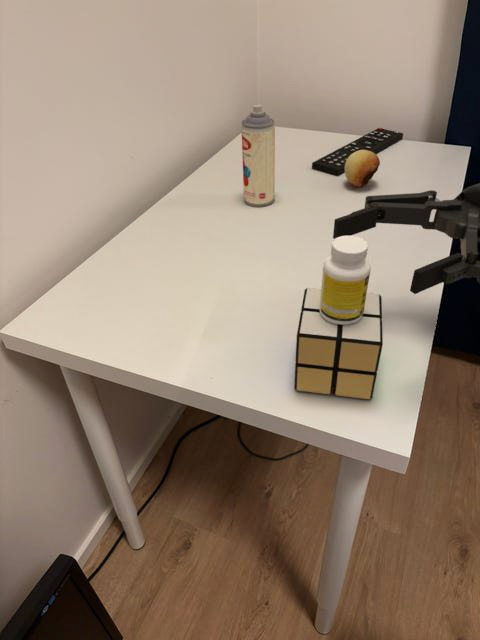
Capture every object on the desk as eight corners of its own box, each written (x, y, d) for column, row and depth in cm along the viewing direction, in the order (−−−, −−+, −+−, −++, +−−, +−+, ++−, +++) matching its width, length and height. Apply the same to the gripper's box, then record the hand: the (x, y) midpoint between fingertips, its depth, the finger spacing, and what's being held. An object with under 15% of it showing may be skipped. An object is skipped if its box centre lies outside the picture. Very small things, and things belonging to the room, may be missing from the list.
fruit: (376, 179, 114) (381, 145, 109) (376, 194, 108) (381, 159, 103) (343, 177, 116) (347, 143, 111) (341, 192, 109) (345, 157, 104)
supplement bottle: (367, 325, 58) (379, 256, 52) (321, 326, 58) (328, 257, 52) (359, 298, 62) (369, 231, 56) (316, 299, 63) (322, 232, 56)
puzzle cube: (301, 341, 71) (304, 286, 65) (371, 349, 70) (381, 292, 63) (293, 391, 64) (296, 334, 57) (371, 401, 62) (383, 343, 56)
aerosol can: (241, 195, 110) (237, 102, 97) (270, 192, 111) (270, 99, 98) (247, 208, 105) (243, 112, 92) (277, 205, 106) (278, 109, 93)
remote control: (402, 138, 134) (404, 131, 133) (337, 176, 116) (338, 168, 115) (378, 133, 138) (379, 126, 137) (311, 168, 120) (312, 161, 119)
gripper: (430, 151, 70) (310, 186, 63) (602, 219, 53) (466, 278, 46) (420, 199, 75) (307, 237, 68) (575, 276, 58) (447, 338, 50)
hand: (371, 254), depth 57 cm, fingers open, 13 cm apart
